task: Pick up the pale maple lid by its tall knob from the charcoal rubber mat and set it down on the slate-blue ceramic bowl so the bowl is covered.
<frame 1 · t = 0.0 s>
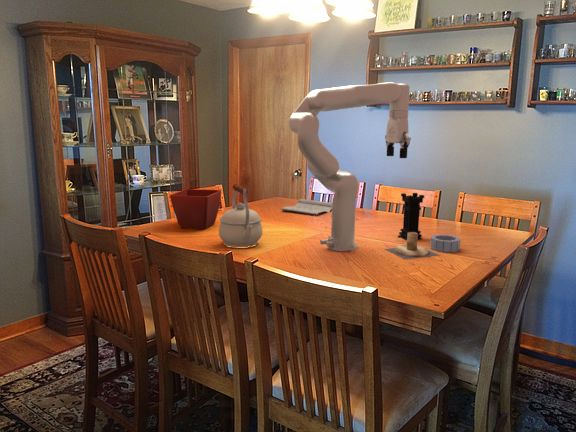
hand: (396, 157, 205), 37 cm above the table, tool pointing down, fingers open, 9 cm apart
kettle: (241, 245, 208), on the table
chess piece: (410, 239, 219), on the table
lid: (411, 252, 196), point 1 cm above the table, touching rubber mat
rubber mat: (411, 253, 197), on the table
plant pot: (197, 226, 241), on the table
mat: (309, 211, 281), on the table
bowl: (444, 249, 202), on the table
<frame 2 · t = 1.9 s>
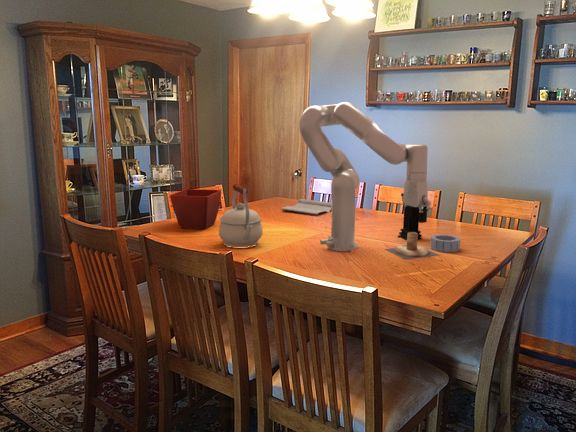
hand: (415, 220, 194), 14 cm above the table, tool pointing down, fingers open, 9 cm apart
nothing on the table moved.
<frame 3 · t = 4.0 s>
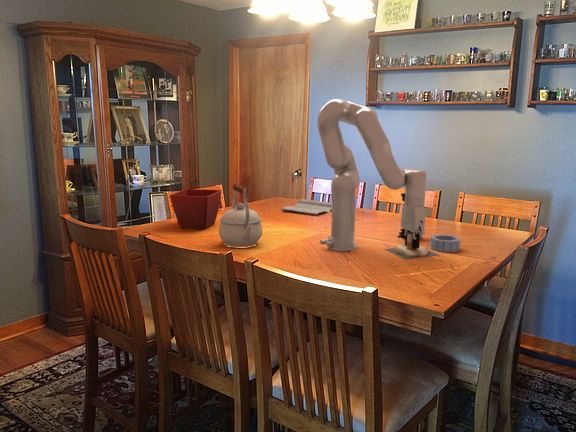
hand: (411, 246, 196), 3 cm above the table, tool pointing down, fingers closed on lid, 4 cm apart
lid: (411, 252, 196), point 1 cm above the table, touching gripper, rubber mat
everything else where it was.
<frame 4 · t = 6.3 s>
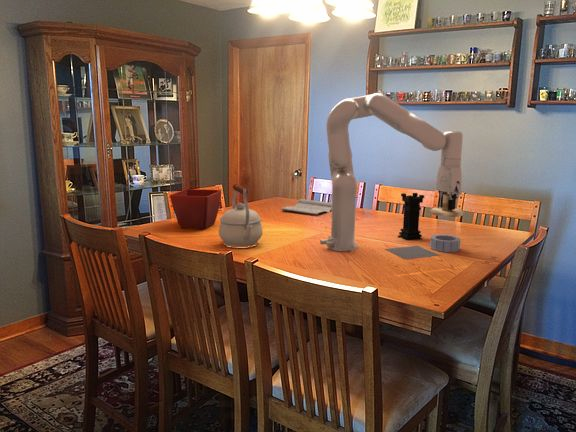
hand: (447, 208, 198), 17 cm above the table, tool pointing down, fingers closed on lid, 4 cm apart
lid: (447, 213, 199), point 15 cm above the table, touching gripper
everything else where it was.
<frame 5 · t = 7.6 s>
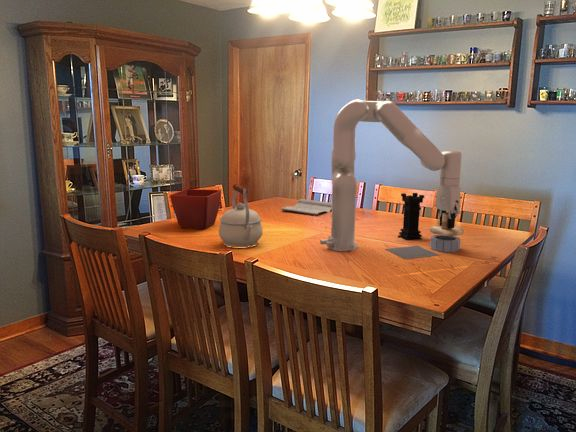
hand: (446, 226, 200), 10 cm above the table, tool pointing down, fingers closed on lid, 4 cm apart
lid: (446, 231, 201), point 8 cm above the table, touching gripper
everything else where it was.
when the fingers open (8 cm above the table, at t = 8.6 s): lid drops 1 cm, resting on bowl.
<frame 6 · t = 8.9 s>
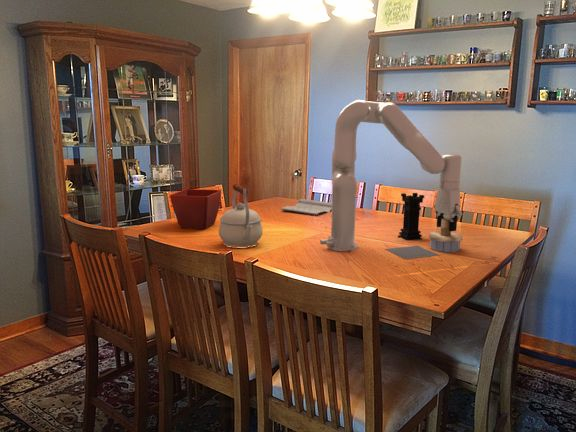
hand: (446, 228, 200), 9 cm above the table, tool pointing down, fingers open, 7 cm apart
lid: (445, 237, 201), point 5 cm above the table, touching bowl
everything else where it was.
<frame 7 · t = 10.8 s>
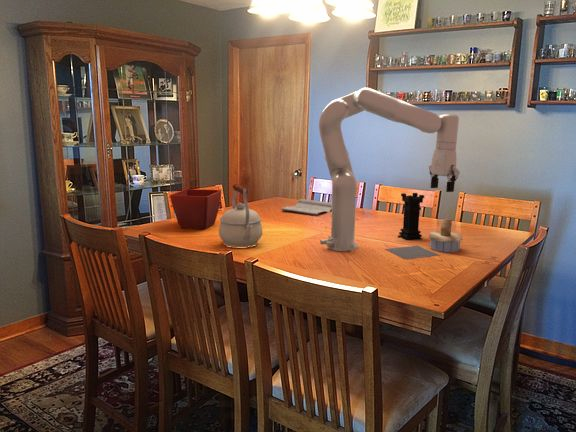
hand: (441, 189, 197), 25 cm above the table, tool pointing down, fingers open, 9 cm apart
nothing on the table moved.
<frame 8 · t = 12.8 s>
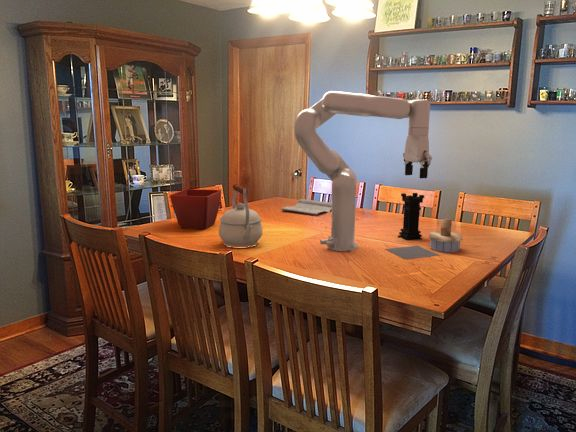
hand: (415, 176, 194), 30 cm above the table, tool pointing down, fingers open, 9 cm apart
nothing on the table moved.
at the end: lid 0.1 cm off-centre on the bowl, point 5.0 cm above the bowl's base; lid tilted 0°; the gripper is holding nothing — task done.
